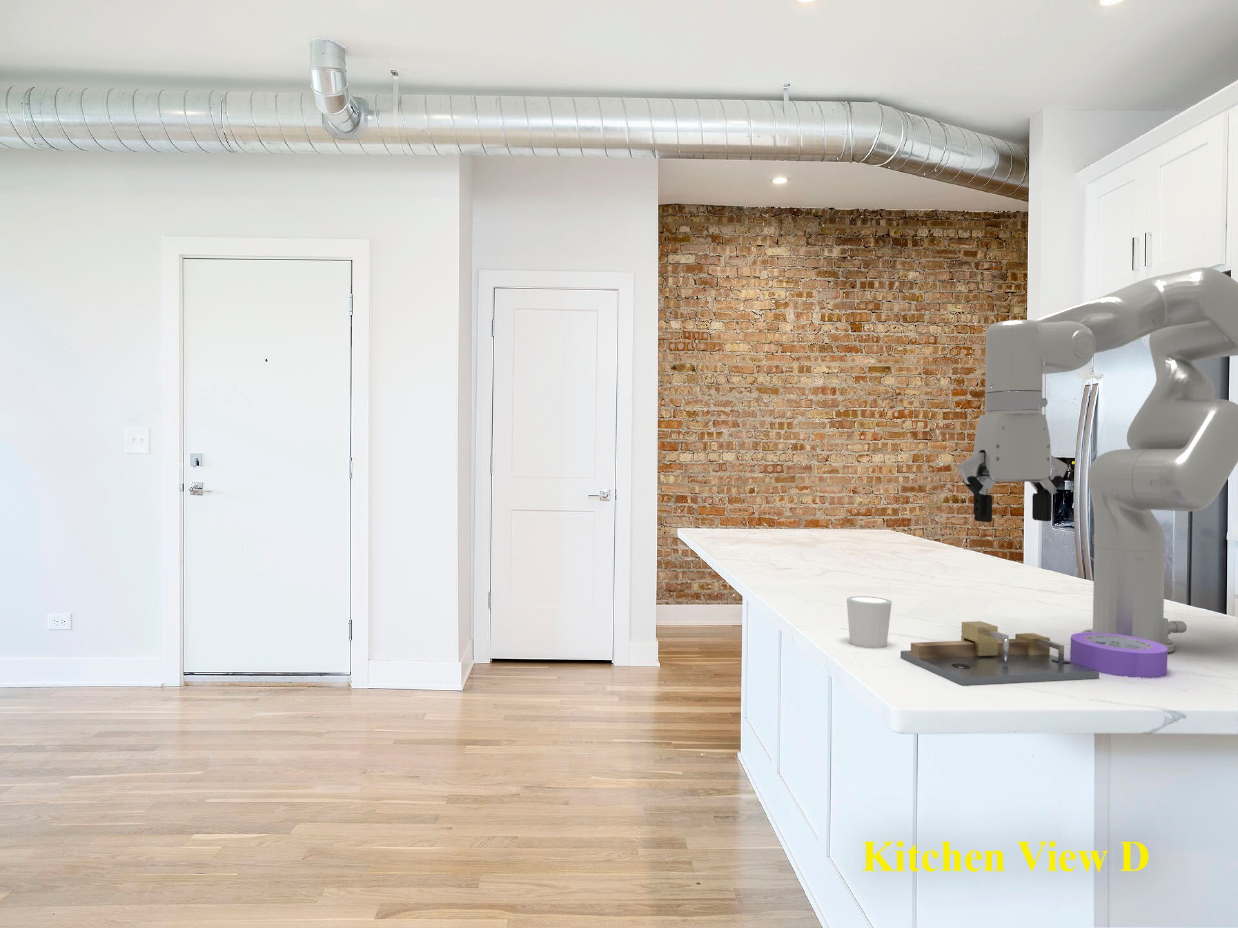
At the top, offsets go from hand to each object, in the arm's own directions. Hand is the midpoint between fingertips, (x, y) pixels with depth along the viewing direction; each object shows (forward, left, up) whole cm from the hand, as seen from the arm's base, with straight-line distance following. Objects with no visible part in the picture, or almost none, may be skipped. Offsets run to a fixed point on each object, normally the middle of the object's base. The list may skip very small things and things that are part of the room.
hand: (1012, 520), depth 112 cm
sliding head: (+6, +2, -19) cm, 20 cm away
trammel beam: (+5, +3, -19) cm, 20 cm away
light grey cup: (+16, -12, -21) cm, 29 cm away
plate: (+6, +4, -21) cm, 21 cm away
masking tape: (-13, +6, -21) cm, 25 cm away
